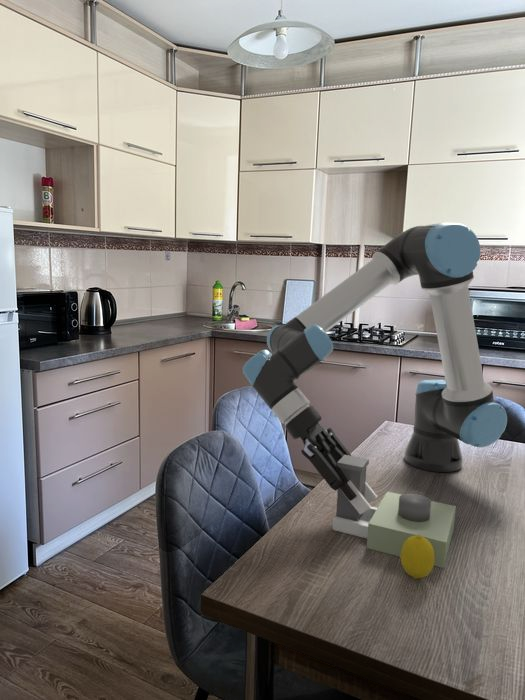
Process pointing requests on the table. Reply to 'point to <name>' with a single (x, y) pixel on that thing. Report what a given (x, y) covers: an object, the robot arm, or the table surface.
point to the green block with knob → (403, 524)
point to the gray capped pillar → (357, 474)
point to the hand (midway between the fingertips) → (368, 505)
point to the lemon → (417, 556)
